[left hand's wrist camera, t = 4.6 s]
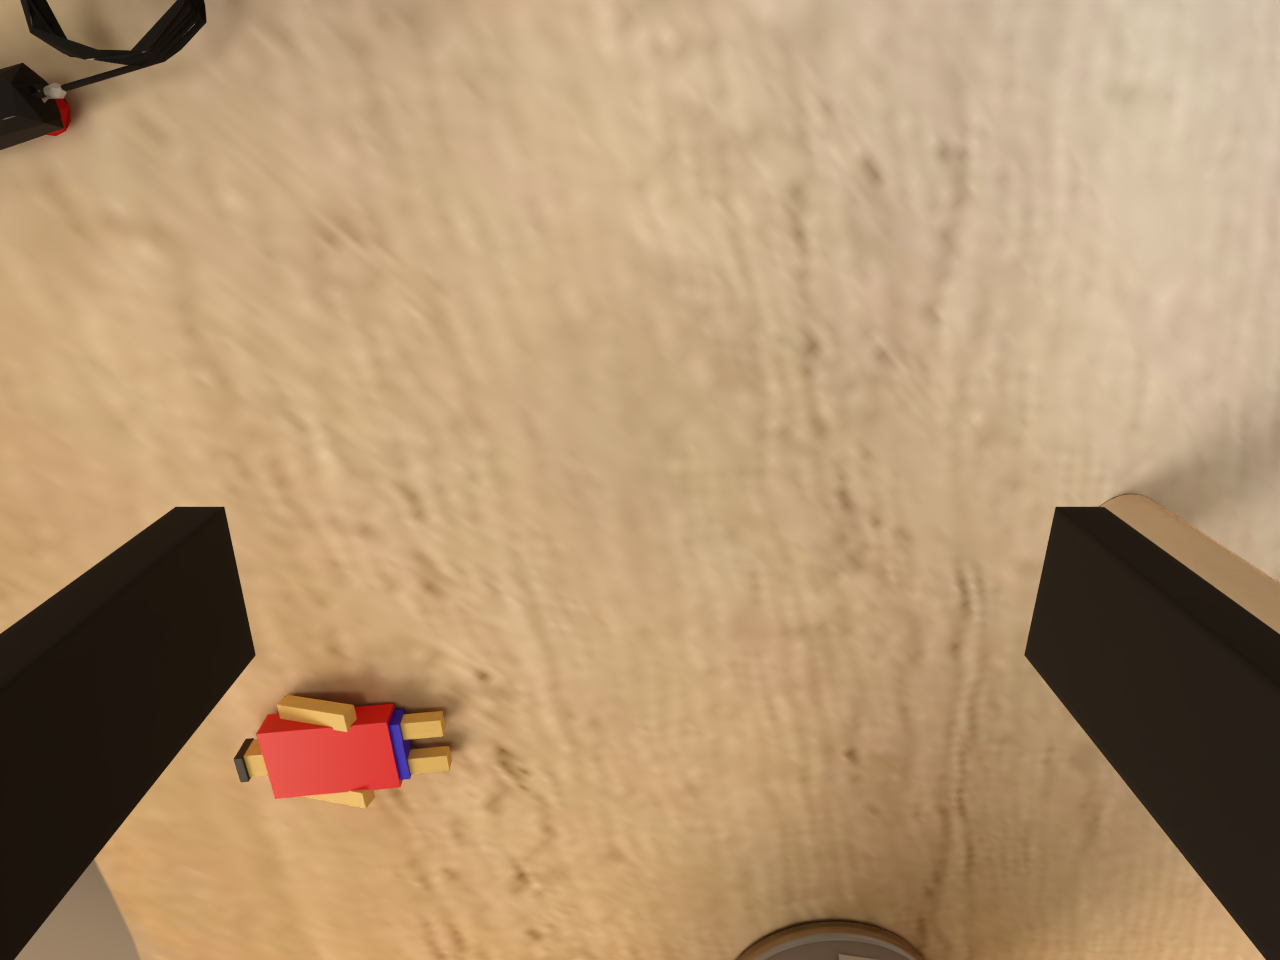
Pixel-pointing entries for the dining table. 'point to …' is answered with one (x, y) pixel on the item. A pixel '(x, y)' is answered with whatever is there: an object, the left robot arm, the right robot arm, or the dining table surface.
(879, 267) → the dining table surface
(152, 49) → the electric hoist
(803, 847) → the dining table surface
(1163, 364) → the dining table surface
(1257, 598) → the bottle
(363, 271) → the dining table surface
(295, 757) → the toy figure
